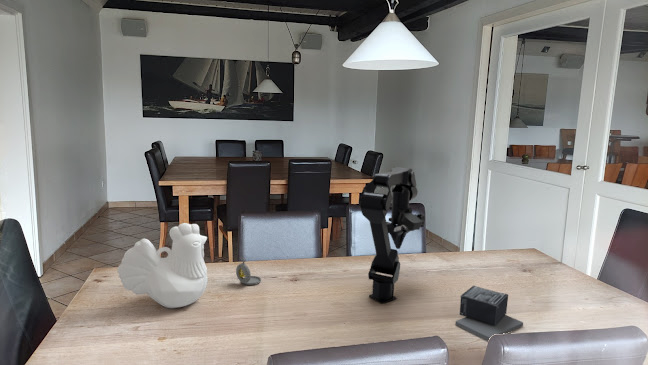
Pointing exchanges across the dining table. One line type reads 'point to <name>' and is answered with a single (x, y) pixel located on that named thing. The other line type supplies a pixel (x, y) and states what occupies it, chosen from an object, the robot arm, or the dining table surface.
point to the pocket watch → (246, 274)
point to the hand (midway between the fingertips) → (398, 248)
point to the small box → (483, 305)
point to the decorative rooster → (167, 268)
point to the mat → (488, 326)
